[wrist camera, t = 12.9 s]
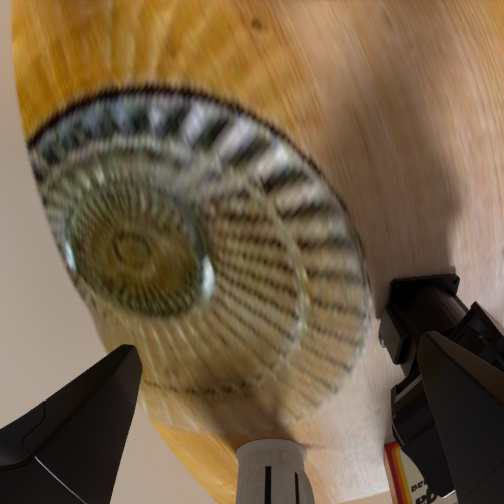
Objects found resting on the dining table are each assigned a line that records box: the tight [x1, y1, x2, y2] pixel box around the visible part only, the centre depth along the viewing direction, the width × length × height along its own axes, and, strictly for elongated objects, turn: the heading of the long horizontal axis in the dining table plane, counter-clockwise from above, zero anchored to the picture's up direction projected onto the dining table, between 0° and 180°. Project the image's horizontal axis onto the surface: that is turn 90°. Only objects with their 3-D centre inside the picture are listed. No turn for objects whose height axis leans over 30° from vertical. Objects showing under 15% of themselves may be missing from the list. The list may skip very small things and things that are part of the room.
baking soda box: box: [384, 441, 459, 504], centre depth 25 cm, size 10×6×16 cm
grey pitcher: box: [236, 439, 315, 504], centre depth 25 cm, size 9×14×15 cm, turn 162°
